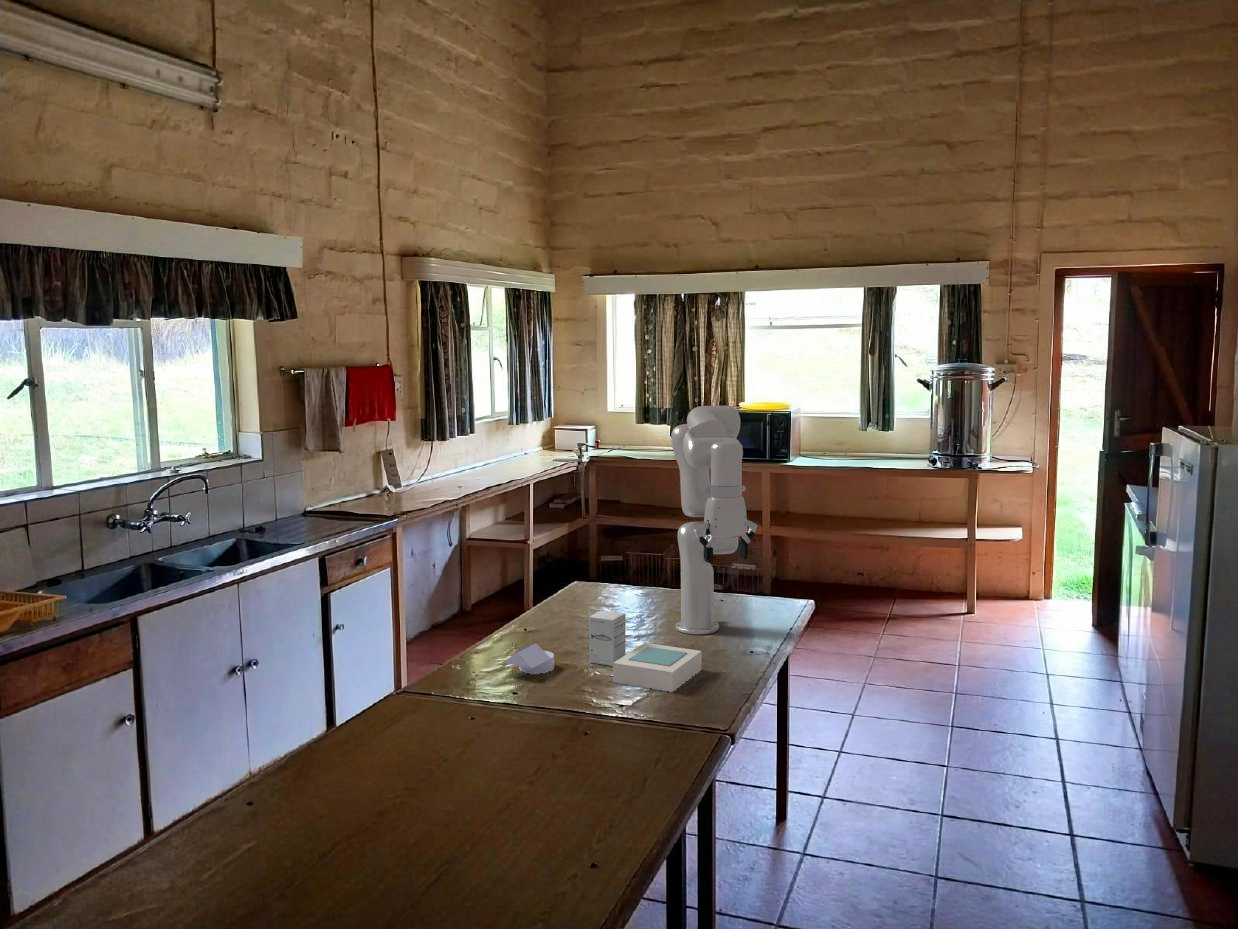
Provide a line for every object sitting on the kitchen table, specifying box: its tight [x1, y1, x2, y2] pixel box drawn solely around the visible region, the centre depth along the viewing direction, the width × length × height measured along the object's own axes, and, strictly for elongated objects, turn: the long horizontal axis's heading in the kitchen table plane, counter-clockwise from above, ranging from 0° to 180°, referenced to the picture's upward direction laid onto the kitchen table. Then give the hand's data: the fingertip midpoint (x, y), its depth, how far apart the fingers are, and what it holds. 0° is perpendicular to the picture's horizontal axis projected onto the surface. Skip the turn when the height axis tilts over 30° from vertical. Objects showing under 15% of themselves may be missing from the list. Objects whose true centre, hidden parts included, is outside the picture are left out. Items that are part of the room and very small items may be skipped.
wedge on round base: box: [503, 643, 555, 675], centre depth 252 cm, size 9×7×13 cm
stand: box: [612, 642, 702, 693], centre depth 246 cm, size 18×16×5 cm
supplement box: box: [588, 610, 627, 667], centre depth 258 cm, size 7×7×13 cm
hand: (725, 560), depth 242 cm, fingers open, 9 cm apart
